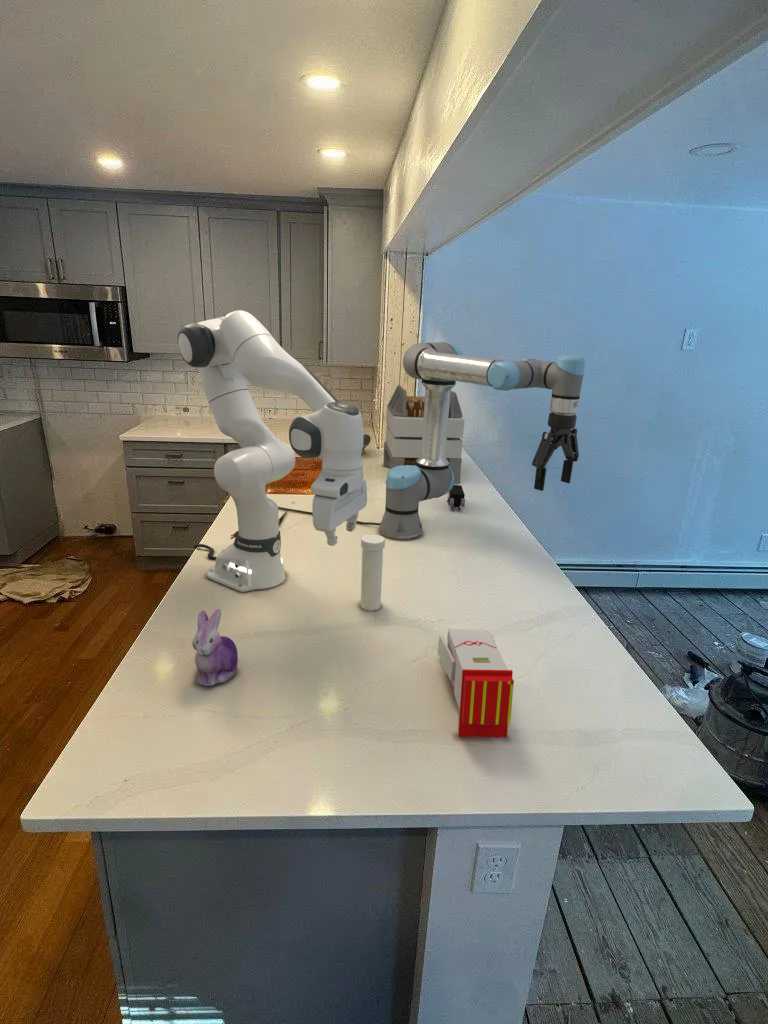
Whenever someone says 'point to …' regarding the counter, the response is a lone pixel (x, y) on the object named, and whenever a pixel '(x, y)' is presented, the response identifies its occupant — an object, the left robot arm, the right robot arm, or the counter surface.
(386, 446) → the stacking storage bins
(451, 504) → the figurine character
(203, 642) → the figurine
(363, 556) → the bottle
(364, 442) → the fossil
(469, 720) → the toy
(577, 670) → the counter surface
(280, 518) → the feather
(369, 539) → the lid
